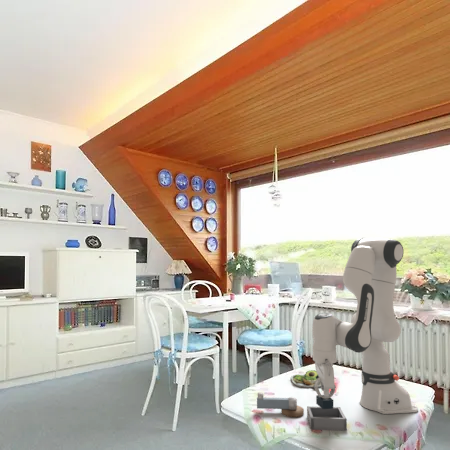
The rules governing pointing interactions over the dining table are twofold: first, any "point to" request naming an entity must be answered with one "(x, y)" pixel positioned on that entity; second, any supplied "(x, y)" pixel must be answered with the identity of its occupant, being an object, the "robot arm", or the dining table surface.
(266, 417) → the dining table surface
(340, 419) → the tray
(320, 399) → the watch
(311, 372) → the avocado toast plate
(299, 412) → the base
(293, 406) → the crank arm
